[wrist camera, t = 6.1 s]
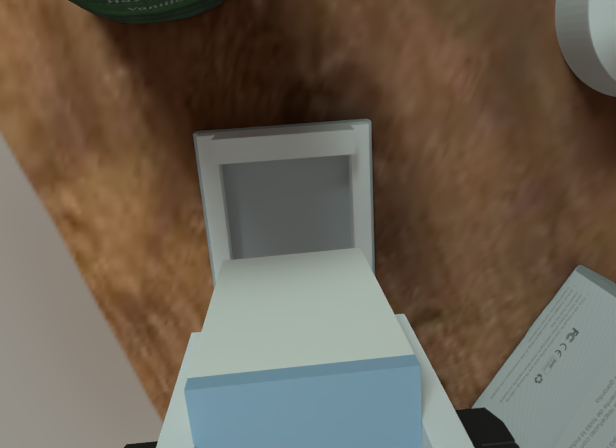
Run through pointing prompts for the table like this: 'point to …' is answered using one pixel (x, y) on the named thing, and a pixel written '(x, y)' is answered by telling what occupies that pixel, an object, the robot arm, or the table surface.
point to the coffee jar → (146, 9)
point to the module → (303, 358)
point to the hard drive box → (563, 371)
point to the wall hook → (589, 41)
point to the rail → (286, 189)
